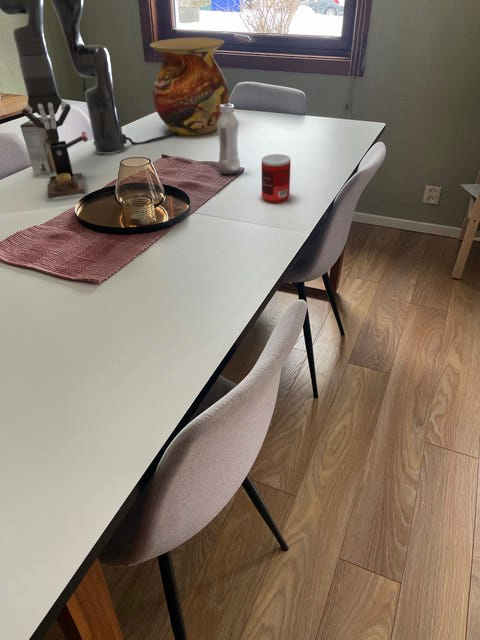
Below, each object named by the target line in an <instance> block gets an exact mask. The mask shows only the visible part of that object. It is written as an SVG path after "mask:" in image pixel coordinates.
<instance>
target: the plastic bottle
mask: <svg viewBox="0 0 480 640" xmlns="http://www.w3.org/2000/svg"><path fill="white" fill-rule="evenodd" d="M221 113H222V114H221V116H220V118H219V119H218V122H217V129H216V130H217V134H218V142H219V158H218V170H219V171H220V173H222V174H224V175H233V174H236V173H238V172H239V171H240V167H241V161H240V157H239V149H238V141H239V140H238V139H239V138H238V137H239V129H240V128H239V127H240V123H239V120H238V118H237V117H236V116H235V114H234V113H235V108H234V104H233V103H232V104H231V103H229V104H222V105H221Z"/></svg>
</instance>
